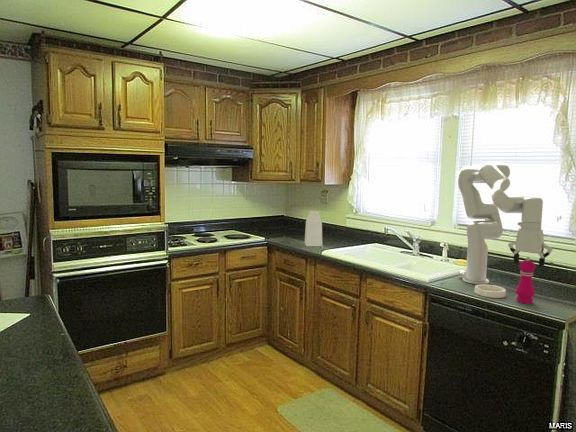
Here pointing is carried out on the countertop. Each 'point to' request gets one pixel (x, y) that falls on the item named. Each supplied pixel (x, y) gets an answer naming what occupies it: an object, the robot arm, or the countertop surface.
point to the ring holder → (490, 291)
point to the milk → (313, 229)
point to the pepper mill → (526, 282)
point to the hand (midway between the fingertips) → (528, 265)
